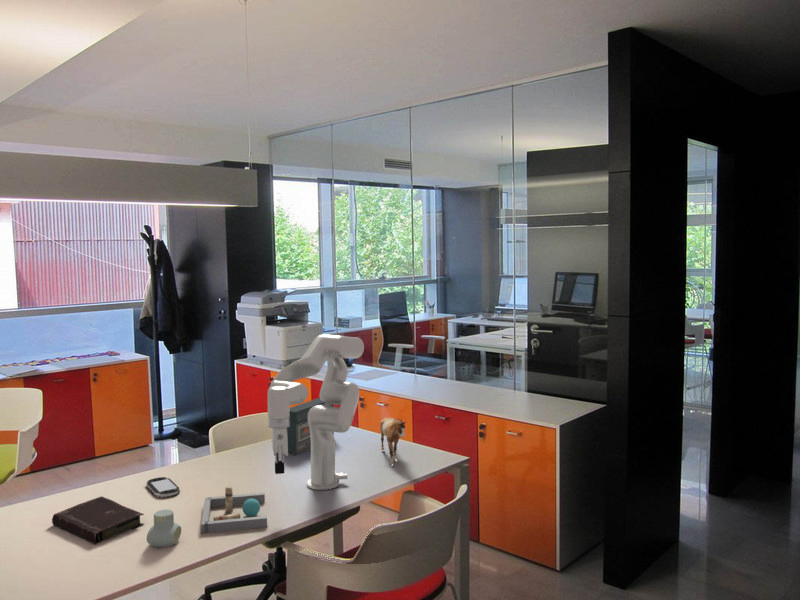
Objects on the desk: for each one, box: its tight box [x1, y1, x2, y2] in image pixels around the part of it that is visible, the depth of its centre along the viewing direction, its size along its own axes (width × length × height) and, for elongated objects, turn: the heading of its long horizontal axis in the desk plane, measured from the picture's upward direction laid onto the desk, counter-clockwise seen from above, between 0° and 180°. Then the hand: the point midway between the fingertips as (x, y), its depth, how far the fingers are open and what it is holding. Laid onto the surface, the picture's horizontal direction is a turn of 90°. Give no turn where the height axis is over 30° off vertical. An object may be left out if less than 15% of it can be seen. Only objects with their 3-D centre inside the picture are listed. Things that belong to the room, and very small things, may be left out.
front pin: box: [213, 512, 241, 521], centre depth 219 cm, size 2×2×9 cm
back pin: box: [224, 485, 234, 514], centre depth 228 cm, size 2×2×9 cm
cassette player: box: [287, 397, 335, 456], centre depth 302 cm, size 29×7×20 cm, turn 151°
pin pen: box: [200, 492, 268, 534], centre depth 224 cm, size 21×23×3 cm
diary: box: [51, 496, 145, 546], centre depth 217 cm, size 19×25×5 cm
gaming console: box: [145, 476, 181, 499], centre depth 249 cm, size 19×9×2 cm, turn 36°
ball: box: [241, 499, 261, 517], centre depth 224 cm, size 6×6×6 cm
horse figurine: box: [379, 416, 407, 465], centre depth 285 cm, size 31×8×21 cm, turn 10°
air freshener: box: [146, 509, 182, 548], centre depth 203 cm, size 11×8×10 cm
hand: (279, 472), depth 227 cm, fingers closed
